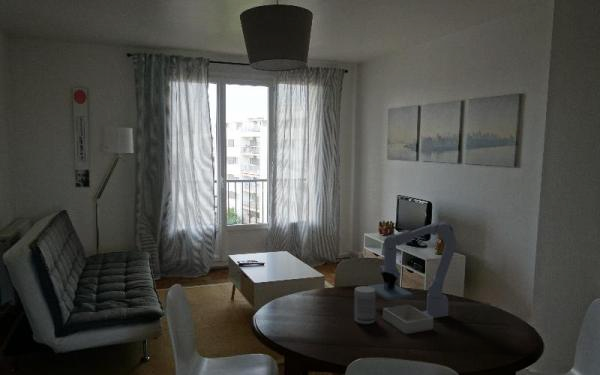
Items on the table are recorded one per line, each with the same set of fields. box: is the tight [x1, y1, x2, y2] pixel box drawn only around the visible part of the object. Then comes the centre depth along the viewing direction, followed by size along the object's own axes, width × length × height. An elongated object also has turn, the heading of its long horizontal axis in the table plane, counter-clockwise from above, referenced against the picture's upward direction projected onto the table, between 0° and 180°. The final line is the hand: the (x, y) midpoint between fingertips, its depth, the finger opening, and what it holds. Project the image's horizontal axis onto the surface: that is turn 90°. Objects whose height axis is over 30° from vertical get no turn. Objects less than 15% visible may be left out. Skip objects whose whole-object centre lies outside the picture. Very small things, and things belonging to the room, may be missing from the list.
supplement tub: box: [353, 285, 377, 325], centre depth 204 cm, size 10×10×15 cm
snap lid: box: [367, 281, 414, 301], centre depth 219 cm, size 14×18×6 cm
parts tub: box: [382, 304, 434, 335], centre depth 201 cm, size 14×18×5 cm
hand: (389, 287), depth 219 cm, fingers closed on snap lid, 2 cm apart
